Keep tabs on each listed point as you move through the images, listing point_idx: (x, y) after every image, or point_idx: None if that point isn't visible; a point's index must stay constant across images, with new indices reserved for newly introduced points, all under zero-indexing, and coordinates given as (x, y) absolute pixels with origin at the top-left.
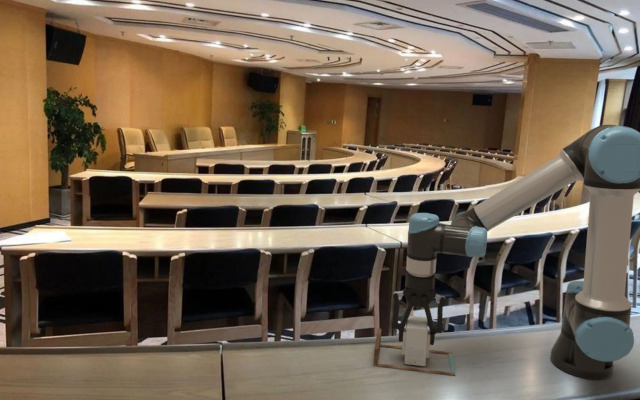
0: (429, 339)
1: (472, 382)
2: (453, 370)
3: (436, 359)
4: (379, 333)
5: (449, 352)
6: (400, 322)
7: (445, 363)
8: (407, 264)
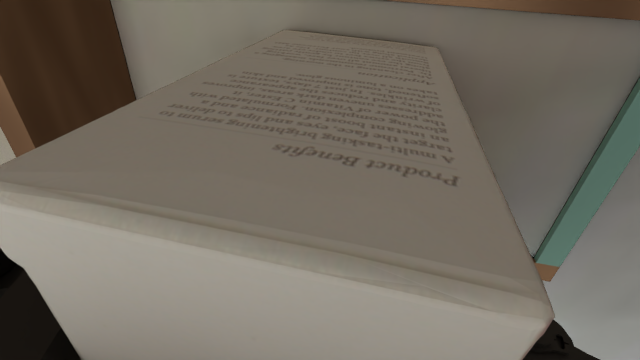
0: None
1: (617, 318)
2: (563, 247)
3: (506, 114)
4: None
5: None
6: (24, 274)
7: (554, 161)
8: None
